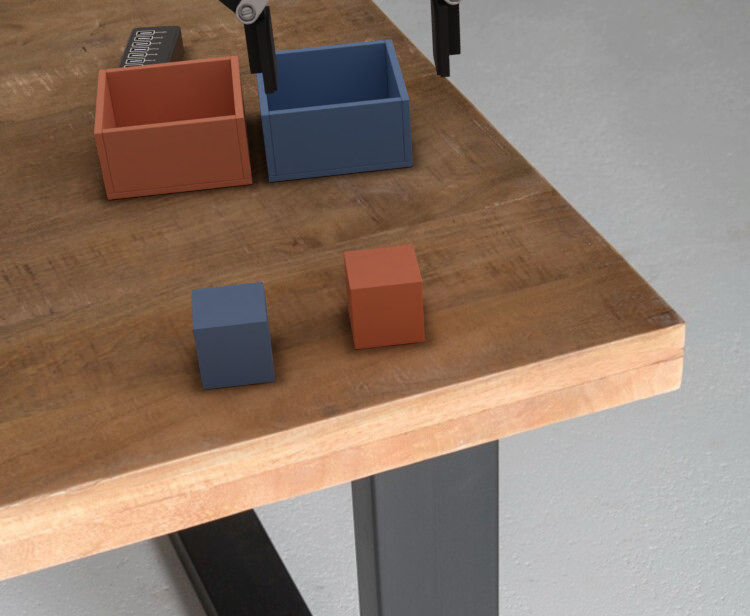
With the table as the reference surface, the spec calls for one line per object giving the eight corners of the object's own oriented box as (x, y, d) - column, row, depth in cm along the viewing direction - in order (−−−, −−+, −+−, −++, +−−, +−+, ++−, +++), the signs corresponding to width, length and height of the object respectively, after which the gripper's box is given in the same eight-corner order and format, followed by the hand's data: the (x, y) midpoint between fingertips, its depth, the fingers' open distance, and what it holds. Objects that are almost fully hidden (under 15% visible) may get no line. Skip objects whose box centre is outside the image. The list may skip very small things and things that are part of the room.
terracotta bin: (107, 200, 109) (93, 133, 105) (111, 133, 117) (98, 69, 113) (252, 184, 109) (243, 117, 105) (246, 119, 117) (237, 55, 114)
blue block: (203, 390, 90) (192, 329, 87) (201, 349, 93) (191, 289, 90) (275, 381, 90) (267, 321, 87) (271, 341, 93) (263, 281, 90)
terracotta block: (355, 349, 92) (350, 289, 89) (348, 311, 96) (343, 251, 92) (424, 341, 92) (422, 281, 89) (415, 303, 96) (412, 243, 93)
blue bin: (269, 182, 109) (260, 115, 105) (261, 117, 117) (253, 53, 114) (412, 166, 110) (409, 99, 106) (395, 103, 118) (391, 38, 114)
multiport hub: (184, 49, 128) (181, 24, 127) (162, 123, 118) (158, 96, 116) (136, 51, 128) (132, 26, 127) (110, 125, 118) (105, 99, 116)
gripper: (142, -230, 65) (201, 120, 77) (516, -266, 65) (518, 90, 77) (152, -270, 71) (206, 62, 82) (497, -304, 70) (501, 34, 82)
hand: (356, 75), depth 79 cm, fingers open, 9 cm apart
